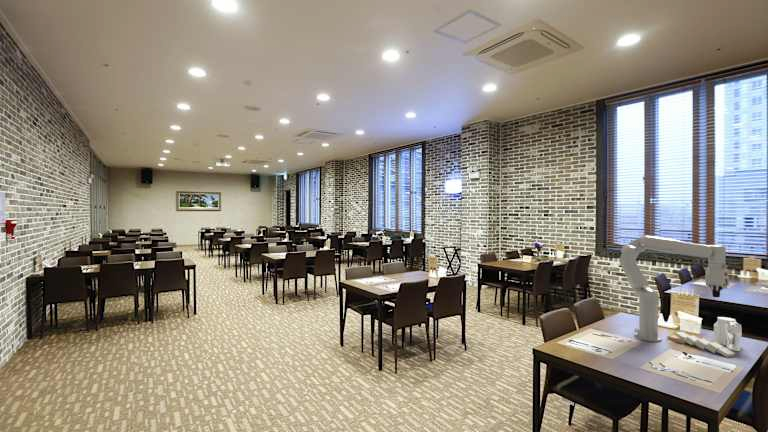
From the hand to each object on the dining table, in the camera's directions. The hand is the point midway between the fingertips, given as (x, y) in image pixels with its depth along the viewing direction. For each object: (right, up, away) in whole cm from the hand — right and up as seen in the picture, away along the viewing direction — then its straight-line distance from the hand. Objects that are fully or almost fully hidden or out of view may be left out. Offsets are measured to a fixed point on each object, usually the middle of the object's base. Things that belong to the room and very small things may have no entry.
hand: (716, 296), depth 215 cm
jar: (+11, -30, +6) cm, 32 cm away
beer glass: (+6, -30, -4) cm, 31 cm away
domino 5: (-6, -29, -15) cm, 33 cm away
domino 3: (-9, -29, -4) cm, 30 cm away
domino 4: (-7, -29, -10) cm, 31 cm away
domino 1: (-12, -29, +6) cm, 32 cm away
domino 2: (-10, -28, +2) cm, 30 cm away
